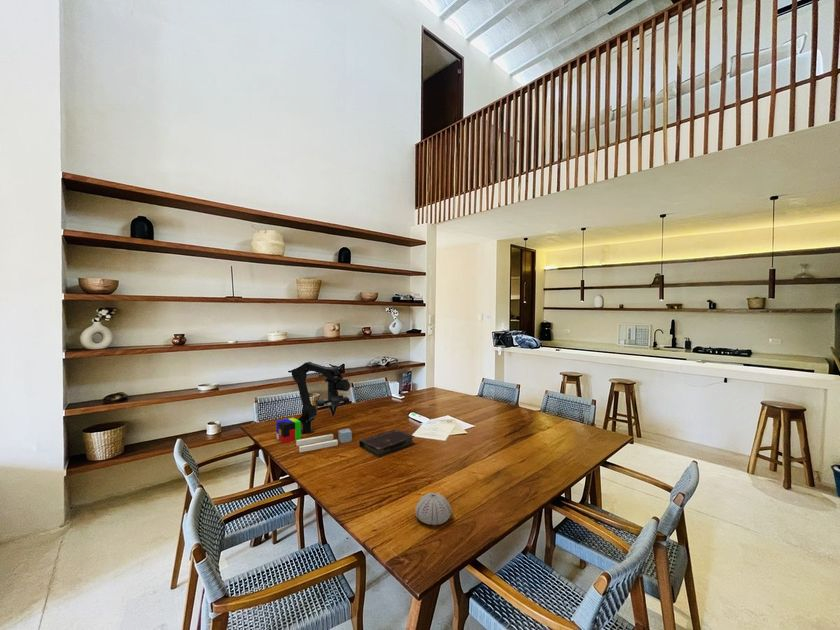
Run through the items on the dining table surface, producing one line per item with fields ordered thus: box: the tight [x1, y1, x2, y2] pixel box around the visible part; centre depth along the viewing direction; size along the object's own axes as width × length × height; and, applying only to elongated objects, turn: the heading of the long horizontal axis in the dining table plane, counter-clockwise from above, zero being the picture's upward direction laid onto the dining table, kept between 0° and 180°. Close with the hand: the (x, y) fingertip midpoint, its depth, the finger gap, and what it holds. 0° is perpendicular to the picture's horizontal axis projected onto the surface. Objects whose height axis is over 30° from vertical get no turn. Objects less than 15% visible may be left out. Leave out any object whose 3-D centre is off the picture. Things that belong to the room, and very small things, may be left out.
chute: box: [295, 433, 339, 453], centre depth 189 cm, size 12×20×2 cm, turn 119°
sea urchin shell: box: [414, 492, 452, 526], centre depth 125 cm, size 13×14×8 cm
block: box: [337, 428, 353, 444], centre depth 196 cm, size 6×6×6 cm
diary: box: [358, 429, 415, 458], centre depth 189 cm, size 19×25×5 cm
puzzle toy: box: [275, 417, 302, 444], centre depth 198 cm, size 10×10×10 cm
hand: (332, 415), depth 202 cm, fingers closed
